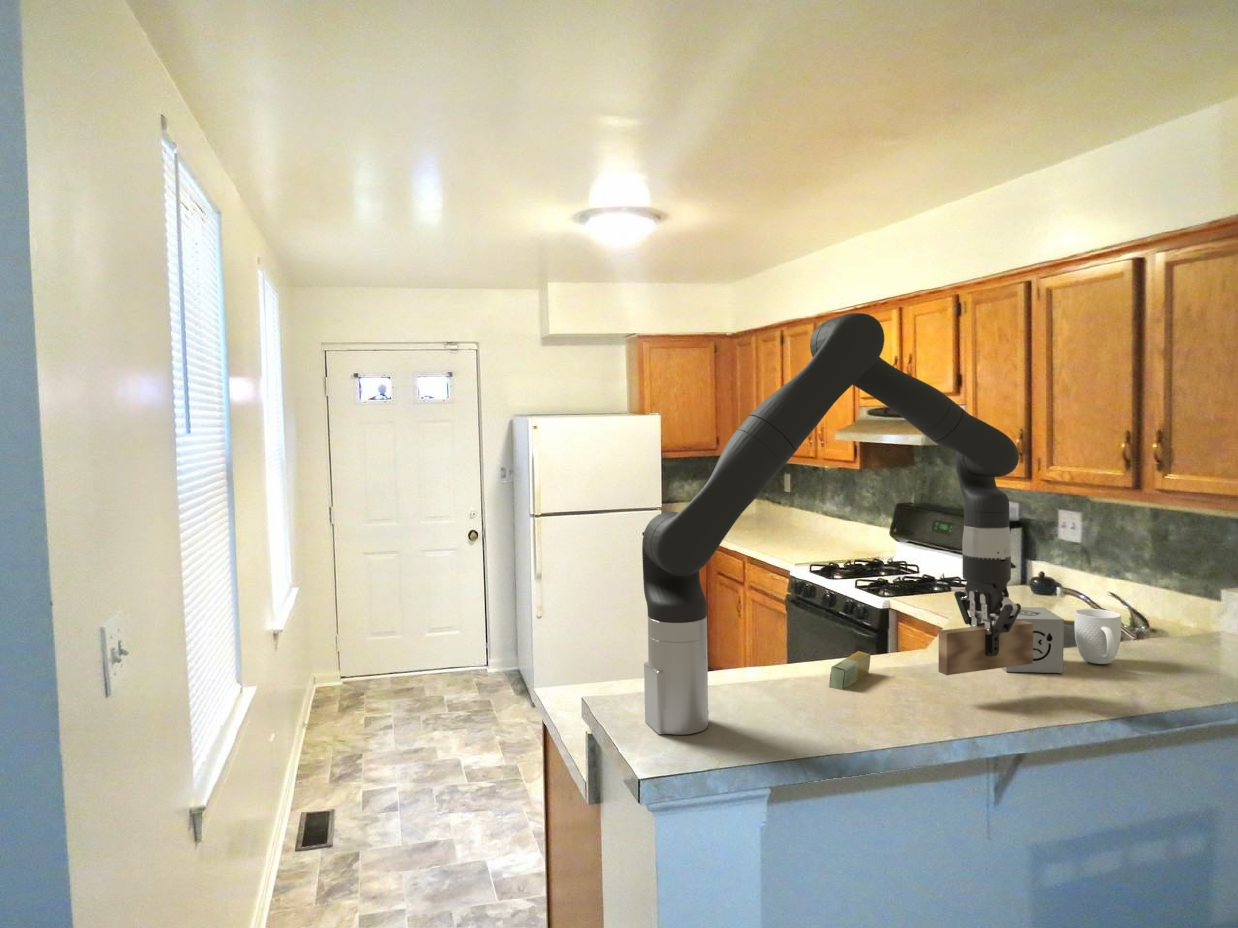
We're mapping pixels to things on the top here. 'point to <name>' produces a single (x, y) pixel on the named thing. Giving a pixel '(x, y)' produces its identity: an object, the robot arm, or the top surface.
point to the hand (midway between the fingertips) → (986, 653)
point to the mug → (1097, 634)
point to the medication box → (849, 670)
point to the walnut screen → (968, 649)
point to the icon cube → (1043, 641)
